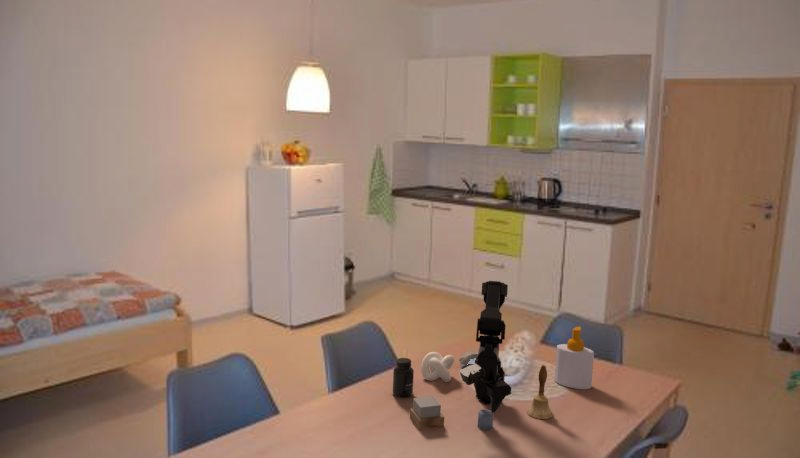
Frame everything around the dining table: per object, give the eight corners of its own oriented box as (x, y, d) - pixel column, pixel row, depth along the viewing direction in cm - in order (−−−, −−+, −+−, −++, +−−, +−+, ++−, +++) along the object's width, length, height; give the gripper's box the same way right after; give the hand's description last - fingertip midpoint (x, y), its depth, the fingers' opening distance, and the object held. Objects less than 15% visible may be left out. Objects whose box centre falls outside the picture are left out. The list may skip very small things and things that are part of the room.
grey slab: (432, 406, 199) (433, 396, 198) (440, 415, 193) (440, 405, 192) (413, 409, 197) (413, 398, 196) (420, 418, 191) (420, 407, 190)
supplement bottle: (410, 399, 211) (411, 364, 209) (390, 397, 212) (391, 362, 210) (414, 391, 218) (415, 357, 216) (395, 388, 219) (395, 355, 217)
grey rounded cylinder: (488, 422, 196) (489, 408, 195) (495, 429, 192) (496, 415, 191) (475, 424, 195) (475, 410, 194) (481, 431, 191) (482, 417, 190)
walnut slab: (433, 416, 200) (434, 405, 200) (443, 427, 193) (444, 416, 192) (409, 419, 198) (410, 408, 197) (419, 431, 190) (419, 420, 190)
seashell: (482, 361, 247) (483, 348, 246) (492, 369, 239) (493, 356, 238) (454, 364, 243) (455, 351, 242) (463, 372, 235) (464, 359, 234)
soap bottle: (594, 384, 227) (599, 329, 224) (587, 392, 220) (592, 336, 217) (558, 376, 234) (562, 322, 231) (550, 383, 227) (554, 328, 224)
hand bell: (530, 405, 209) (533, 359, 206) (555, 411, 205) (559, 364, 202) (523, 415, 201) (526, 367, 199) (549, 421, 198) (553, 373, 195)
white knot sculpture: (416, 382, 225) (417, 358, 223) (425, 370, 236) (425, 347, 234) (447, 387, 221) (448, 362, 220) (455, 374, 233) (456, 351, 231)
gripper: (451, 348, 196) (449, 396, 198) (478, 371, 178) (475, 423, 181) (483, 345, 199) (481, 392, 202) (513, 367, 182) (510, 418, 185)
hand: (486, 405), depth 192 cm, fingers open, 9 cm apart
